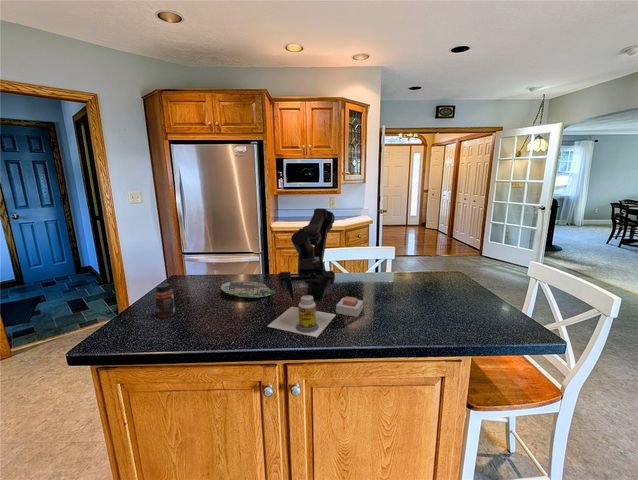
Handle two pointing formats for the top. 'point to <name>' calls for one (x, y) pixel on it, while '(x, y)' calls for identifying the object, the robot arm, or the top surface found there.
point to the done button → (350, 301)
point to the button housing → (349, 308)
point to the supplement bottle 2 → (307, 313)
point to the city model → (246, 289)
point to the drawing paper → (291, 322)
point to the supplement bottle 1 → (164, 301)
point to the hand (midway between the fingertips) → (307, 302)
